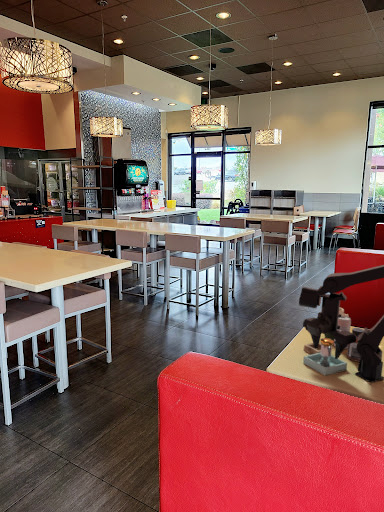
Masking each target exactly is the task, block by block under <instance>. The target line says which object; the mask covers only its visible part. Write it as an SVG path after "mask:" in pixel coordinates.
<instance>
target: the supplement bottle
mask: <svg viewBox="0 0 384 512" xmlns="http://www.w3.org/2000/svg"><path fill="white" fill-rule="evenodd" d="M363 331H364V329H363V328H361V327H353V328H352V331H351V333H354V334H355V335H356V342H354V343H351V344H348V348H347V351H346V356H347V358H348V359H350V360H351V361H354V362H359V360H360V357H361V355H360V354H359V353H358V352H357V348H356V347H357V343H358V342H357V339H358V335H360V334H361V333H362V332H363Z"/></svg>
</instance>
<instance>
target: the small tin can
mask: <svg viewBox="0 0 384 512" xmlns="http://www.w3.org/2000/svg"><path fill="white" fill-rule="evenodd" d="M319 343H321V351H320V361H319V364H320V365H322V366H324V367H330V361H331V355H332V350H333V346H334V339H329V338H327V337H325V338H323V337H322V338H320V341H319Z"/></svg>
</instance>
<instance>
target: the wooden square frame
mask: <svg viewBox="0 0 384 512" xmlns="http://www.w3.org/2000/svg"><path fill="white" fill-rule="evenodd" d="M303 351H305V352H307V353H308V354H309V355H312V354H317V353H320V351H321V343H320V342H319V345H318V348H317V349H315V348H314V345H313V342H311V343H310V342H309V343H307V344H304V346H303Z"/></svg>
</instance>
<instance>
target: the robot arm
mask: <svg viewBox="0 0 384 512" xmlns="http://www.w3.org/2000/svg"><path fill="white" fill-rule="evenodd" d="M381 279H384V264H381V265H377V266H373V267H369V268H365V269H362V270H357V271H353V272H335V273H334V272H333V273H330V274H328V275H327V276H326V277H325V278H324V280H323V281H322V282H323V283H322V285H321V286H319V287H318V288H312V287H311V288H310V287H307V286H303V287H302V288H301V291H300V296H299V298H298V306H299V307H303V308H304V307H306V308H310V309H317V307H320V306H321V310H320V311H319V312H318V313H317V317H309V318H305V319H304V320H303V321H302V327H303V328H305V329H304V330H305V331H307V332H308V333H309V334H310V336H311V340H312V343H313V345H314V348H315V349H317V348H318V345H319V343H320V342H321V335H322V334H323V335H324V334H326V333H329V334H332V335H334V336H335V340H336V341H334V340H333V344H334V343H335V345H336V347H334V348H335V350H334V351H335V352H334V357H335V359H340V356H341V355H342V353H343V352H344V350H346V349H345V348H346V346H347V345H348V344H351V343H354V342H356V335H355V334H354V333H352V331H350V332H349V331H341V332H339V331H337V329H340V326H339V325H338V318H340V317H341V314H339V308H341V307H340V306H341V301H343V302H345V301H346V300H347V298H348V297H347V296H346V295H345V294H344V292H343V291H344V290H345V289H347V288H349V287H351V286H354V285H358V284H363V283H367V282H368V283H369V282H372V281H376V280H381ZM339 292H340V293H339ZM363 330H364V331H363V332H362V333H361V334H360V335H358V339H357V342H358V343H357V347H356V348H357V352H358V353H359V354H360V355H361V357H360V360H359V361H358V366H357V371H356V372H355V375H356V376H358V377H360V378H362V379H363V380H366V381H368V382H369V383H372V384H373V383H375V382H379V381H381V380H384V376H383V367H384V366H383V365H384V362H383V350H382V349H381V348H380V345H381V342H382V340H383V338H384V314H383V315H382V317H380V318H379V320H378V321H377V322H376V324H374V325H373V326H372V327H371V328H369V329H368V327H364V329H363ZM317 350H318V349H317Z"/></svg>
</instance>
